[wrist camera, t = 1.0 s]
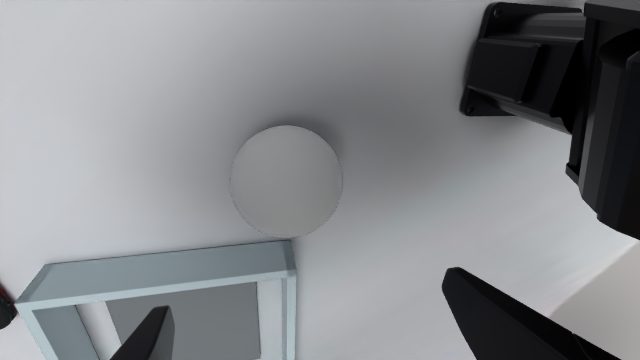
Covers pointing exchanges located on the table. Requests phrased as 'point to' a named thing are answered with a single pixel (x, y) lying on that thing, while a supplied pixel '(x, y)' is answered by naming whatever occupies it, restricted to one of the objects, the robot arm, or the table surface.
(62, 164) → the table surface
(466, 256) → the table surface
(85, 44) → the table surface
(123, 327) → the pad
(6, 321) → the handheld game console
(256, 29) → the table surface
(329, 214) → the ball
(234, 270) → the light blue tray
